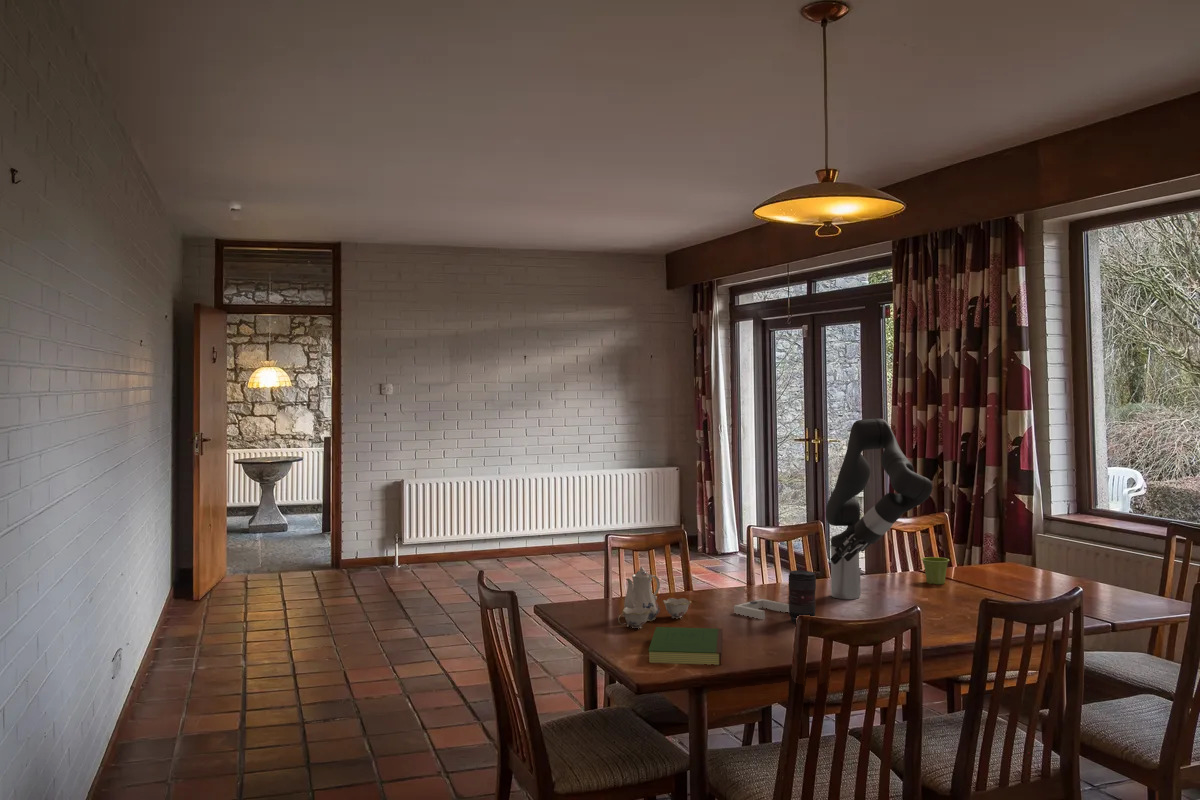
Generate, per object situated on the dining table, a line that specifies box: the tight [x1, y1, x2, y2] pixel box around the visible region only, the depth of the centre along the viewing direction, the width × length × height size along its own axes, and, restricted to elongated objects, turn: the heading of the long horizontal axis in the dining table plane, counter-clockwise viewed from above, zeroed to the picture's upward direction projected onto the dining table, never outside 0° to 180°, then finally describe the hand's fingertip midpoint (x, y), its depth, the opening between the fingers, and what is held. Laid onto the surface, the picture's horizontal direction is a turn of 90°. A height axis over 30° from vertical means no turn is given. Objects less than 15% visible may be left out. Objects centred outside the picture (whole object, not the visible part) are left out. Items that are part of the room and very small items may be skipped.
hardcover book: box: [647, 626, 724, 666], centre depth 252 cm, size 25×19×4 cm
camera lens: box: [788, 569, 817, 624], centre depth 282 cm, size 8×8×15 cm
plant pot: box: [921, 556, 950, 585], centre depth 335 cm, size 9×9×9 cm
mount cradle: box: [733, 598, 789, 620], centre depth 293 cm, size 14×11×3 cm
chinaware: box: [617, 566, 692, 630], centre depth 285 cm, size 28×17×17 cm, turn 137°
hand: (839, 560), depth 272 cm, fingers open, 6 cm apart
